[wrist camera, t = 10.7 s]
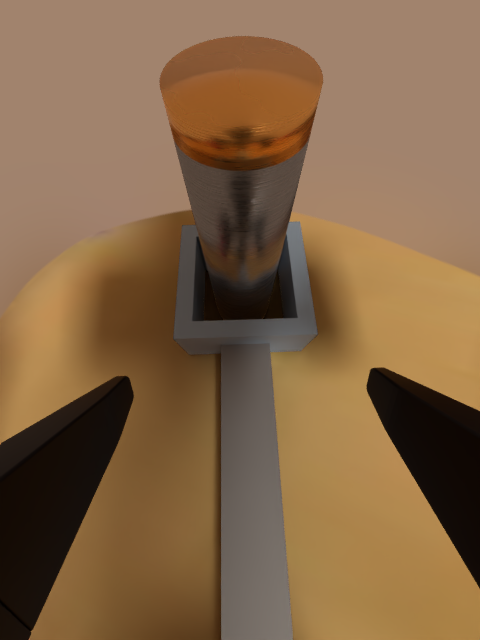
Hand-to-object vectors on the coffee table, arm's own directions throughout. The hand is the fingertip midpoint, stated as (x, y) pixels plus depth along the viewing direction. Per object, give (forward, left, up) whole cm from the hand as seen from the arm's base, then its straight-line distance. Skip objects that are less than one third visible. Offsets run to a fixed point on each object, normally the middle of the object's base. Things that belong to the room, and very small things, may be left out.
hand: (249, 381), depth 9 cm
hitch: (-1, -1, -7) cm, 7 cm away
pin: (+3, +6, -7) cm, 10 cm away
